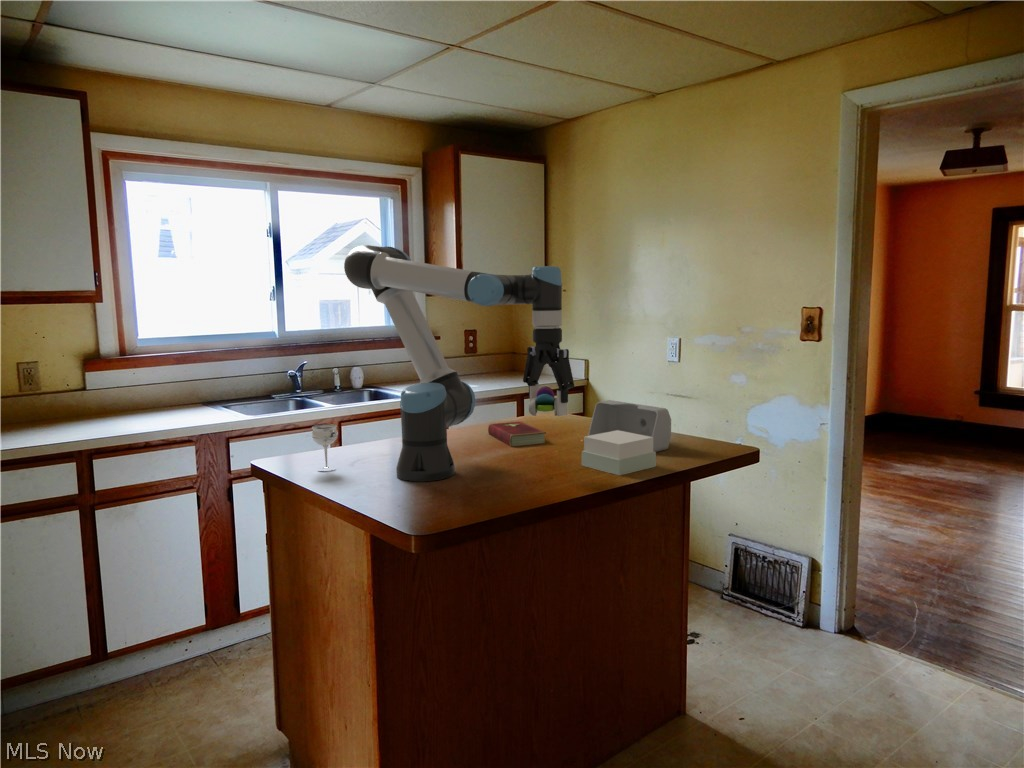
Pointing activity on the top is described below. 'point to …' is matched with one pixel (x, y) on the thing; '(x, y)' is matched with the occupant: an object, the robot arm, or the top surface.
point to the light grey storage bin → (633, 421)
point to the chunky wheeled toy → (543, 401)
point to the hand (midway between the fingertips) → (548, 412)
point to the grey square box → (618, 452)
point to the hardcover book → (516, 433)
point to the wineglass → (324, 436)
